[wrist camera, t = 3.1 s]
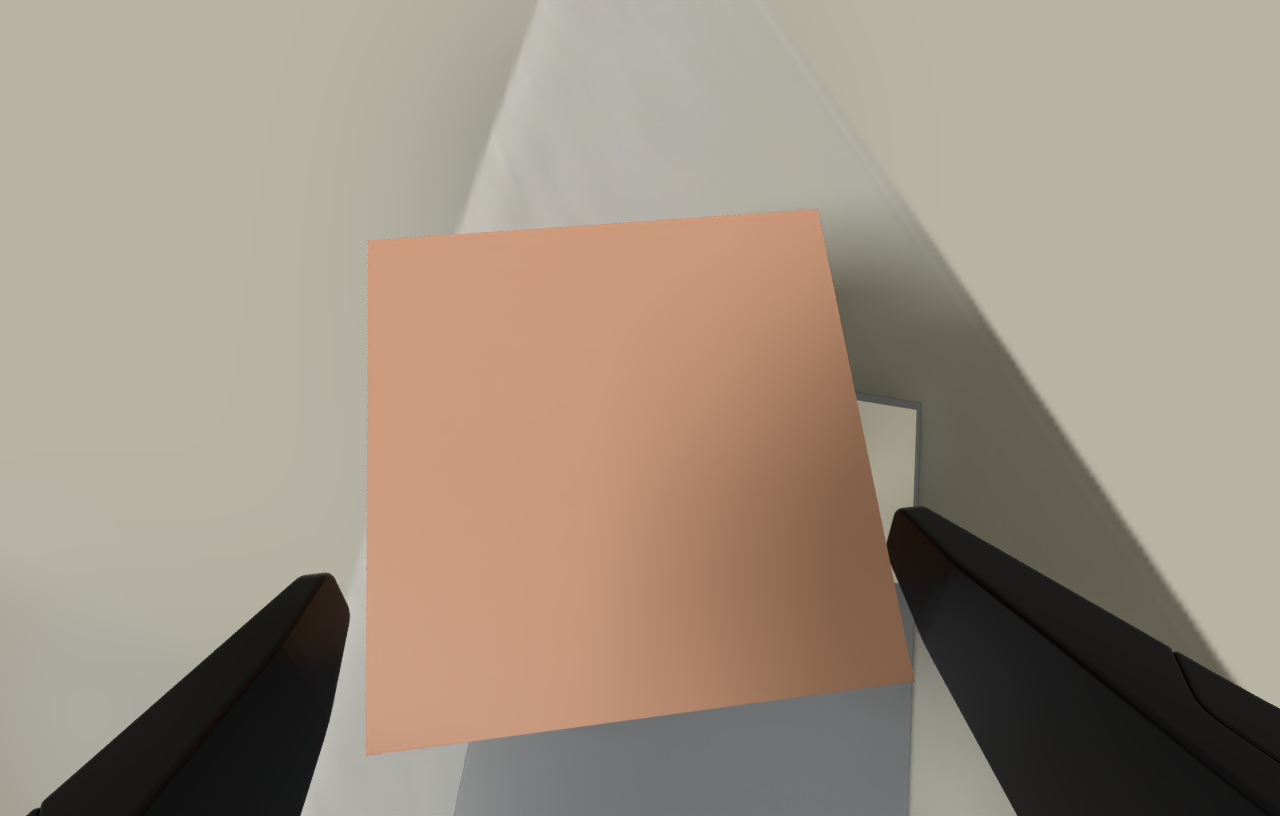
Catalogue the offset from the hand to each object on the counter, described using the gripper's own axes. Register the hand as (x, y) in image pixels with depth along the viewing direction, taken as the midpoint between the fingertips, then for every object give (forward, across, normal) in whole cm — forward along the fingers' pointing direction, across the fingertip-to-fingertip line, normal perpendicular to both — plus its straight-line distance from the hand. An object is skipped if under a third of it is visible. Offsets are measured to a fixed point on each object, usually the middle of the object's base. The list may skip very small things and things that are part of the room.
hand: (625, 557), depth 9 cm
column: (+7, 0, +5) cm, 8 cm away
